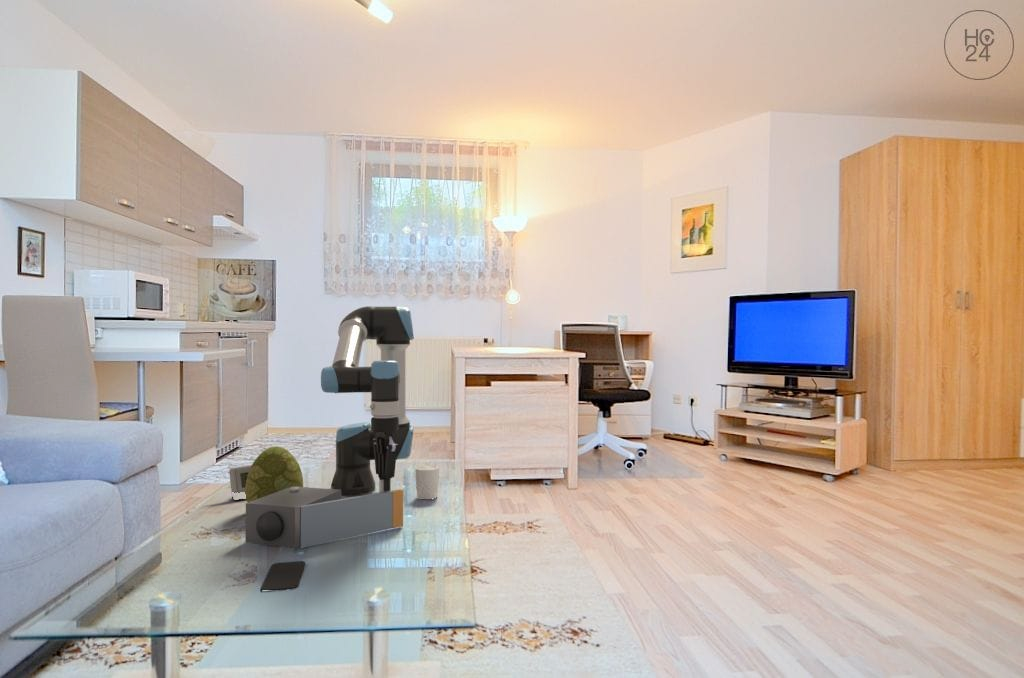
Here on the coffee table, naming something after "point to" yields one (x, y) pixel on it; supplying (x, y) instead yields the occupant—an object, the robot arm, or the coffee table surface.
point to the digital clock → (239, 478)
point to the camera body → (281, 514)
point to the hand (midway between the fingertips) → (384, 501)
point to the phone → (284, 576)
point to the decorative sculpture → (272, 473)
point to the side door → (347, 517)
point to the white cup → (427, 481)
